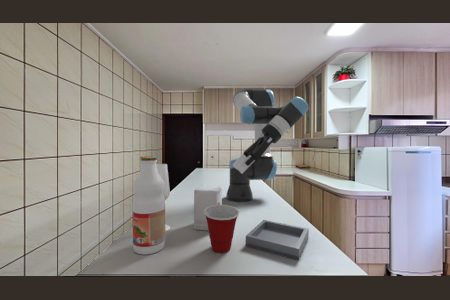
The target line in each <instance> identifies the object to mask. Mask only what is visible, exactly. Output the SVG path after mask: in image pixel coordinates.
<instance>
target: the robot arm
mask: <svg viewBox="0 0 450 300" xmlns="http://www.w3.org/2000/svg"><path fill="white" fill-rule="evenodd" d="M232 103H233V105H234V107H235V108H236V109H238V110H239V111H240V113H239V117H240V122H241V123H242V124H247V125H254V142H253V143H252V144H250V145H249V147H248V148H246V149H245V150H244V151H243V153H242V154H241V155H240V156H239V157H237V158H233V159H231V160H230V161H229V167H228V169H229V185H228V189H227V191H226V199H227V200H228V201H233V202H248V201H251V200H253V199H254V196H253V191H252V188H251V185H250V183H251V182H250V181H262V180H263V181H266V180H273V179H274V178H275V176H276V175H277V168H278V165H277V161H276V159H274V157H273V155H272V154H271V149H270V148H271V145H272V144H276V143H277V142H279V141H280V140H281V139H282V137H283V136H285V135H286V134H289V130H290V129H291V128H292V127H293V126H294V125H296V123H297V122H298V121H299V120H300V119H301V118H302V117H304V116H305V114H306V113H307V112H308V111H309V105H308V103H307V102H306V101H305V99H303V98H302V97H300V96H294V97H293V98H292V99H291V100H289V102H288V103H287V104H285V105H283V106H275V95H274V92H273V91H272V90H271V89H266V88H242V89H240V90H238V91H237V92H235V94H234V95H233V97H232Z"/></svg>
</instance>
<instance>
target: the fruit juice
mask: <svg viewBox="0 0 450 300" xmlns="http://www.w3.org/2000/svg"><path fill="white" fill-rule="evenodd" d="M139 160H140V161H139V163H140V166H141V167H140V170H139V173H138V176H137V177H136V178H135V179H134V180H133V184H132V191H133V195H134V198H133V200H132V209H131V210H132V248H133V249H132V250H133V251H134V253H136V254H138V255H151V254H155V253H158V252H160V251H162V250H163V249H164V248H165V245H166V231H165V224H166V200H165V198H164V196H163V191H164V187H165V184H164V180H163V179H162V178H161V176H160V175H159V173H158V170H157V167H156V164H157V162H158V156H155V155H150V156H149V155H144V156H140V157H139Z"/></svg>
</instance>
